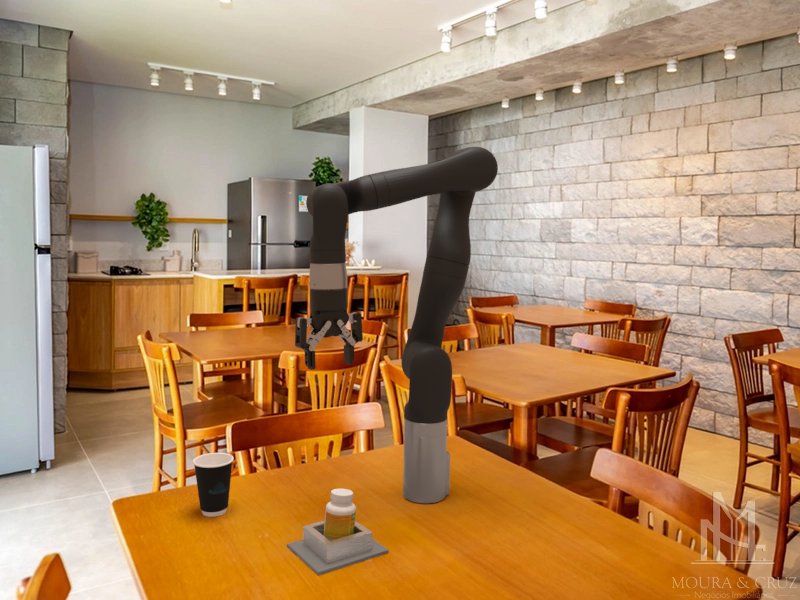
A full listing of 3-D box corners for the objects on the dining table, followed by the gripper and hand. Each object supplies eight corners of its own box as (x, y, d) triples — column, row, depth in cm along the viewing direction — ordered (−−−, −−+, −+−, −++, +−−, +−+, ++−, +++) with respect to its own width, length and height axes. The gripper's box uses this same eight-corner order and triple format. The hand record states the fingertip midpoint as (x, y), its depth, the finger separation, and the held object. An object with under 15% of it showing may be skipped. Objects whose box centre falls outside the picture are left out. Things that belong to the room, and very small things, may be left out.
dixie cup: (218, 523, 128) (217, 468, 127) (185, 516, 131) (184, 462, 130) (242, 507, 136) (241, 455, 135) (210, 501, 138) (209, 450, 137)
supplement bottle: (354, 551, 116) (358, 497, 116) (323, 551, 115) (328, 496, 115) (351, 539, 121) (355, 487, 121) (322, 538, 120) (326, 486, 120)
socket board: (353, 530, 127) (353, 508, 127) (388, 556, 117) (388, 532, 117) (287, 550, 119) (286, 526, 119) (318, 579, 109) (318, 553, 109)
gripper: (305, 289, 124) (307, 374, 126) (368, 285, 132) (370, 364, 134) (287, 286, 130) (289, 367, 132) (349, 282, 138) (350, 359, 140)
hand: (330, 366), depth 133 cm, fingers open, 8 cm apart
